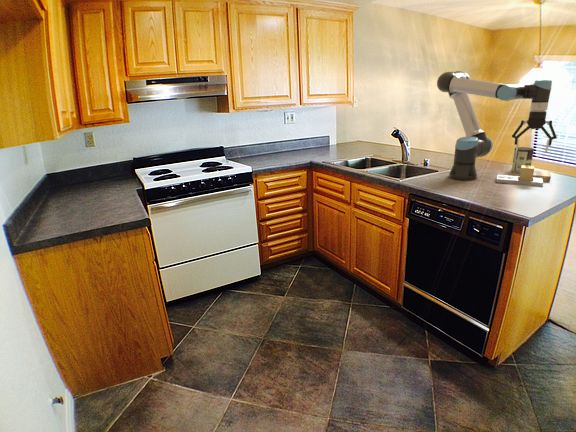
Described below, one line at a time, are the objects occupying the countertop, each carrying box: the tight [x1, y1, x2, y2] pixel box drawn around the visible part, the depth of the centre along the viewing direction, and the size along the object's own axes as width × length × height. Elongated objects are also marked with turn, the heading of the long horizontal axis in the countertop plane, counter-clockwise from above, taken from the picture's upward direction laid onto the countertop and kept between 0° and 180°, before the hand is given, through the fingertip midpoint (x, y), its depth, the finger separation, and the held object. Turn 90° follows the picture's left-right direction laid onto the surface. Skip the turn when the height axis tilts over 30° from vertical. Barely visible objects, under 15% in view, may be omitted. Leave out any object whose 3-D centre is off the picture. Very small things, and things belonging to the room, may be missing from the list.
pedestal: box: [533, 170, 552, 182], centre depth 216 cm, size 12×12×3 cm
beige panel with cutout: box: [495, 174, 544, 187], centre depth 210 cm, size 22×11×2 cm, turn 60°
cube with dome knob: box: [518, 165, 535, 181], centre depth 207 cm, size 6×6×9 cm
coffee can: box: [510, 146, 535, 174], centre depth 231 cm, size 10×10×14 cm
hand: (531, 151), depth 202 cm, fingers open, 13 cm apart
